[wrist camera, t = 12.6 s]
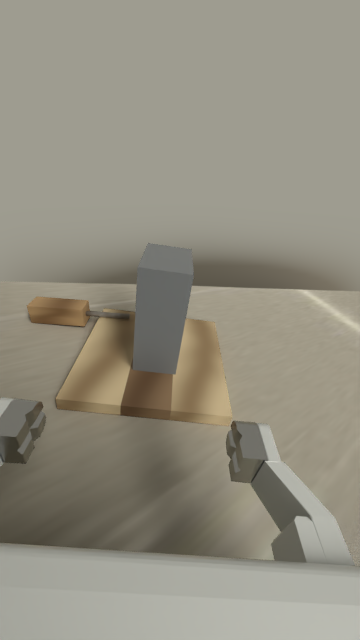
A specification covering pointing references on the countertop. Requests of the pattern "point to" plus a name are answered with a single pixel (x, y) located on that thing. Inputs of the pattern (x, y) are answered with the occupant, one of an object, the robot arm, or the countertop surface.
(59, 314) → the awl
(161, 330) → the block
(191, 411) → the plywood board
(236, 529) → the countertop surface
